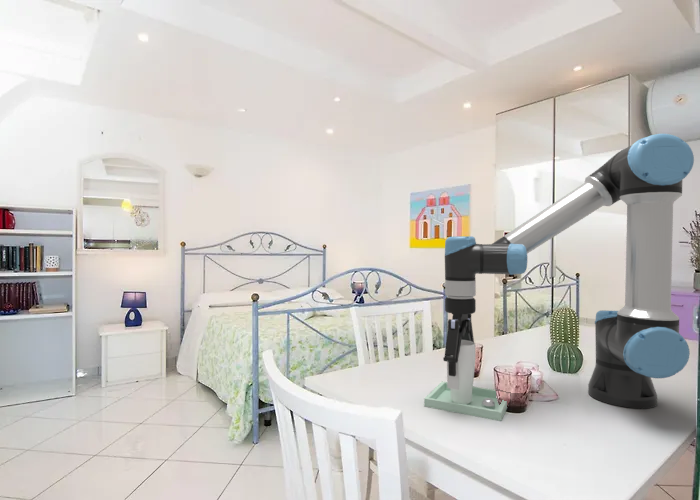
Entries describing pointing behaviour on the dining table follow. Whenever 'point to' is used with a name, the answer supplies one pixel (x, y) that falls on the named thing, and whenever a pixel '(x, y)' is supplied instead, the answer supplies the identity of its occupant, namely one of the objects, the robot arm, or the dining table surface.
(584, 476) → the dining table surface
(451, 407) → the tray
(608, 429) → the dining table surface
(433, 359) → the dining table surface
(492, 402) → the shiny metal ball
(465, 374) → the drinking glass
